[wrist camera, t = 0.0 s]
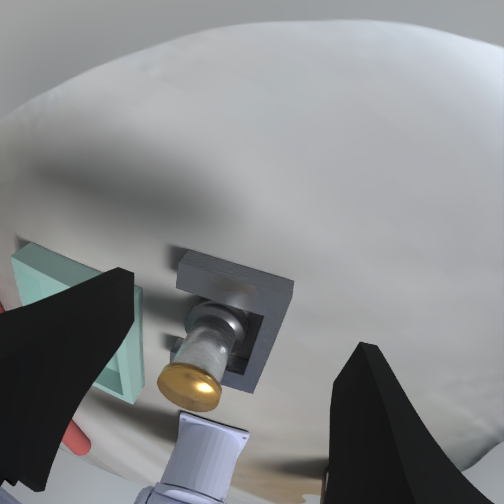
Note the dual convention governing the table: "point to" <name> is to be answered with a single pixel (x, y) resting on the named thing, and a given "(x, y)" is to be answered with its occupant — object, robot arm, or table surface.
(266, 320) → the bracket
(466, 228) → the table surface
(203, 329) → the glass jar
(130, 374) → the tray
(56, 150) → the table surface
